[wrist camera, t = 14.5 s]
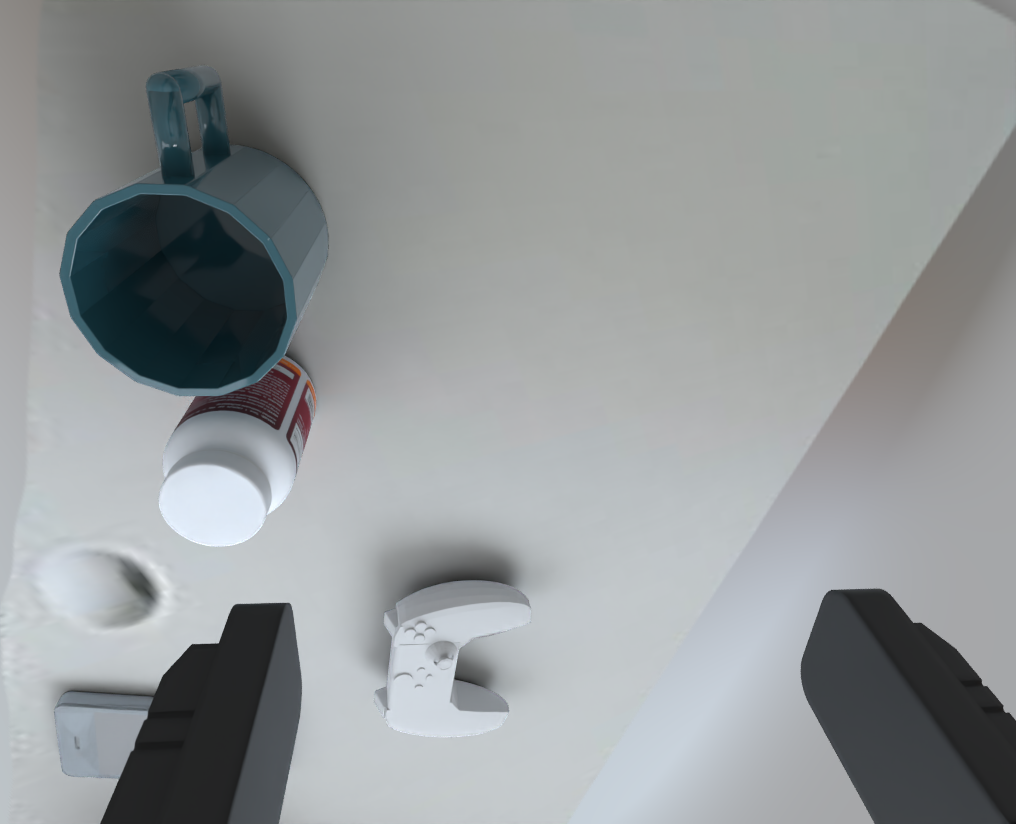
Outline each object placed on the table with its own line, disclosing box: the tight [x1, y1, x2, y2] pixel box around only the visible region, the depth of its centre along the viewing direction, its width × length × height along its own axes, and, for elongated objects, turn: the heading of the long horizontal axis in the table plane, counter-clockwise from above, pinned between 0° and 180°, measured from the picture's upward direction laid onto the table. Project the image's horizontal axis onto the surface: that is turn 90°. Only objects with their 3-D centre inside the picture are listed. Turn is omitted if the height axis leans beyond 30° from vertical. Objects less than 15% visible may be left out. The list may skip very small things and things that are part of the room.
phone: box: [54, 691, 154, 778], centre depth 54 cm, size 8×16×1 cm, turn 78°
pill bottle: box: [159, 356, 316, 547], centre depth 36 cm, size 6×6×11 cm
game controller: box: [374, 580, 531, 737], centre depth 50 cm, size 14×4×10 cm
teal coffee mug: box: [59, 65, 329, 396], centre depth 31 cm, size 12×9×10 cm
